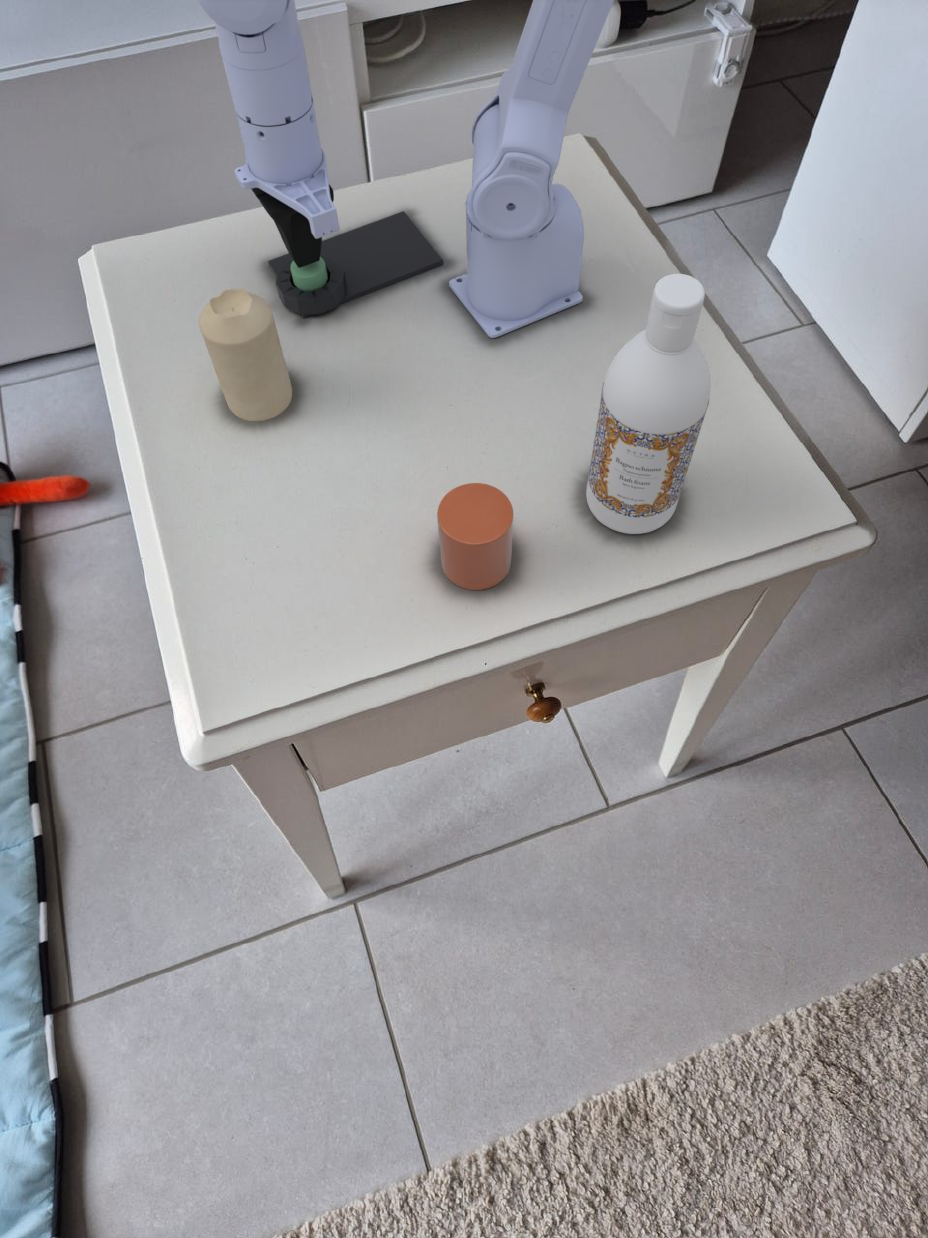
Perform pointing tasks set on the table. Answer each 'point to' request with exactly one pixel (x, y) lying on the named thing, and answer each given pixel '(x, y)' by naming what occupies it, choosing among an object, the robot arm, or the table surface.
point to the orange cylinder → (475, 535)
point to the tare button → (309, 275)
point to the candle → (246, 354)
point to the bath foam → (651, 414)
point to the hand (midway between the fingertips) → (306, 259)
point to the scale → (359, 264)
